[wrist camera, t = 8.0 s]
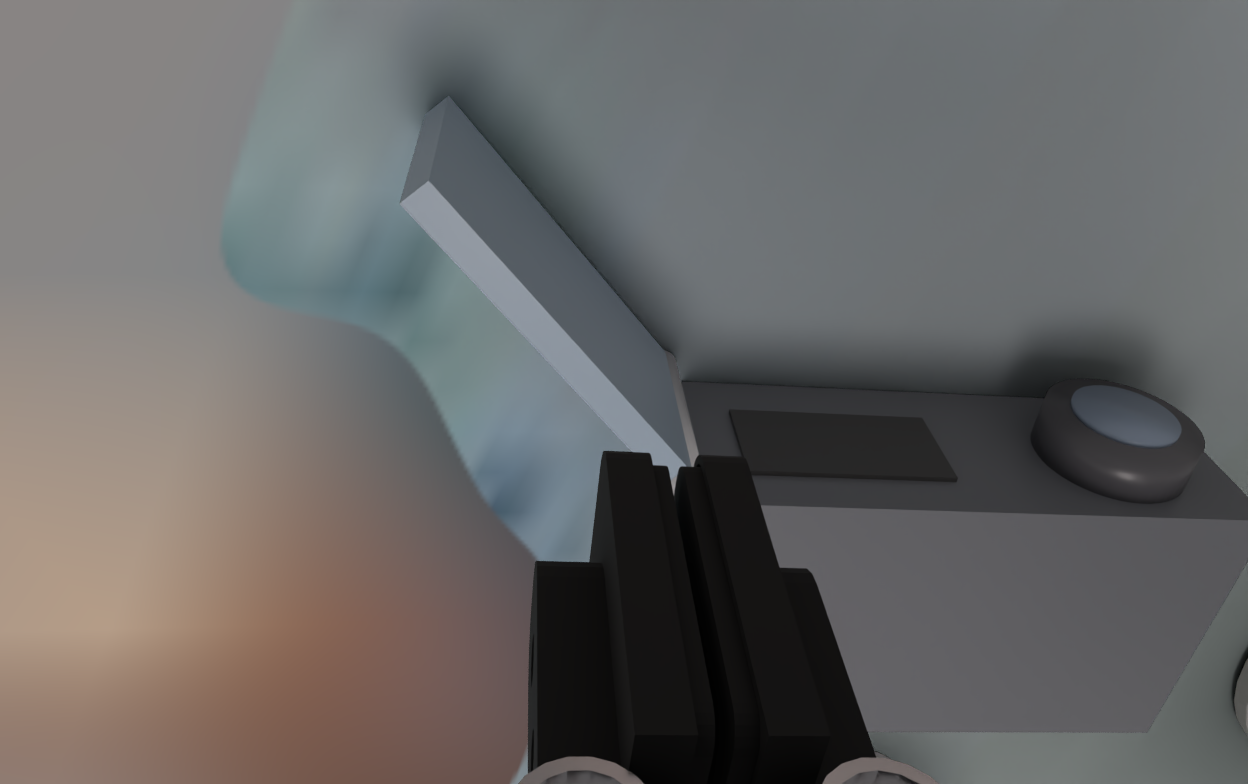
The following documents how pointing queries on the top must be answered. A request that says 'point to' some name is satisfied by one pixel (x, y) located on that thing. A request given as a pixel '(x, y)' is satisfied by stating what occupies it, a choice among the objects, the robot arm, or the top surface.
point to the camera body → (993, 544)
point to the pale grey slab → (546, 287)
